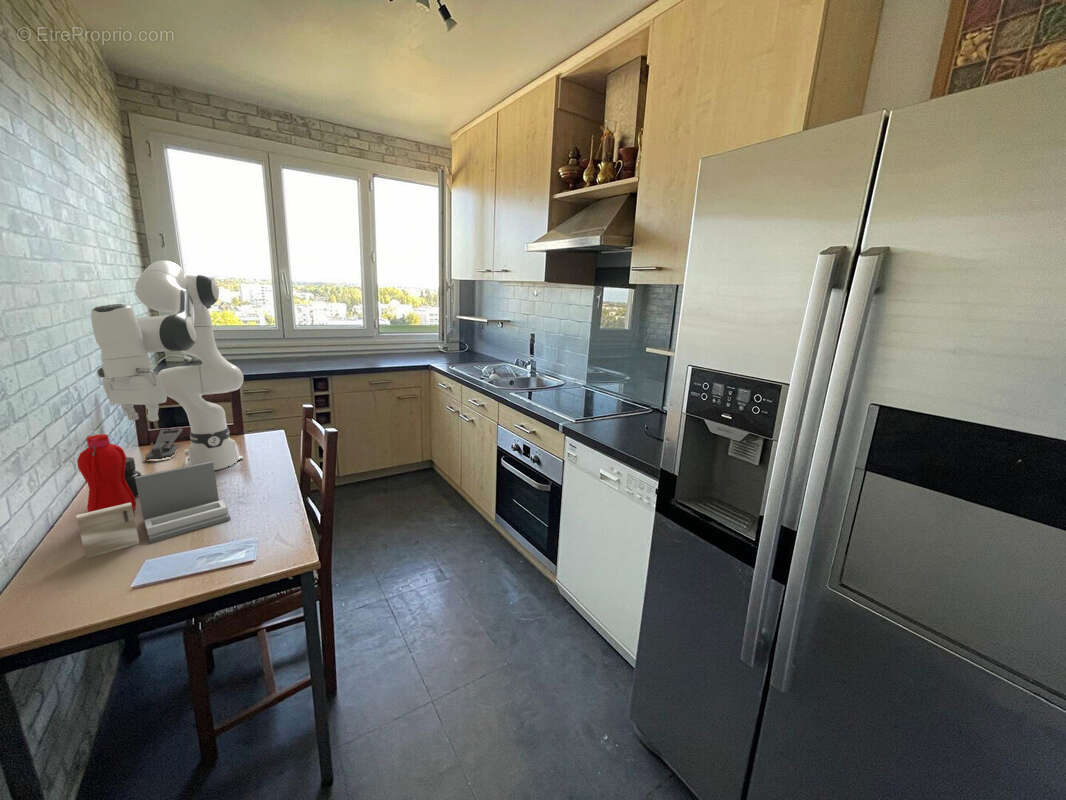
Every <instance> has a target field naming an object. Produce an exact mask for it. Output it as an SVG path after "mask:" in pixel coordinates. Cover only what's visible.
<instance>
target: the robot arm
mask: <svg viewBox="0 0 1066 800" xmlns="http://www.w3.org/2000/svg"><path fill="white" fill-rule="evenodd" d="M134 290H135V295H136V297H137V299H138V300H139V301H140V302H141V304H143V306H146V307H147V308H149V309H151V310H153V311H156V312H159V313H161V312H162V313H171V314H166V315H155V316H147V317H146V316H143V317H142V316H141V317H137V315H136V313H135V312H134V310H133V308H132V307H131V305H129V304H126V303H125V304H124V303H116V304H115V303H114V304H113V303H112V304H107V305H106V304H105V305H100V306H95V307H94V308H92V309H91V313H90V317H91V318H90V319H91V321H90V322H91V326H92V330H93V331H92V332H93V335H94V338H95V342H96V344H97V345H98V347H99V349H100V351H101V362H102V365H101V366H99V368H97V370H96V374H97V376H98V378H99V379H101V383H102V386H103V387H102V388H103V389H104V393H105V395H106V397H107V399H108V401H109V402H110V403H111V404H112V405H120V407H121V409H122V411H123V412H124V414H126V418H127V420H128V421H136V420H139V419H140V418H139V417H140V416H139V412H136V410H135V408H134V406H137V405H138V406H145V409H147V414H146V418H147V421H148V422H156V421H160V418H159V408H160V406H159V405H160V404H164V403H167V398H170V399H172V400H174V401H175V402H177V403H178V404H179V405H180V406H181V407H182V409H183V410H184V411H185V413H186V416H187V419H188V423H189V427H190V432H189V438H190V445H189V447H188V449H185V450H184V454H185V456H187V457H185V461H184V466H183V467H185V466H190V465H195V464H200V463H205V462H210V461H212V462H213V465H214V471H217V470H222V469H226V468H228V466H229V467H232V466H233V465H235V464H236V463H238V462H239V461H238V460H240V459H242V458H243V459H244V457H243V455H240V454H238V450H237V445H236V444H237V443H236V441H235V440H234V439H233V438H230V430H229V427H228V425H227V418H226V412H225V410H224V408H223V407H222V406H221V405H219V404H217V403H214V402H210V401H207V400H205V399H204V398H203V397H202V396H204V395H205V396H206V395H214V394H225V393H231V392H235V391H237V390H239V389H240V388H241V387H242V386H243V383H244V374H243V372H242V370H241V368H239V367H238V366H237V365H235V364H233V363H231V362H229V361H228V360H227V359H226V358H225V357H224V356H223V355H222V354H221V352H220V351H219V349H218V346H217V344H216V339H215V335H214V328H213V322H212V319H211V314H210V312H209V309H211V308H212V306H214V305H215V304H216V303H217V302H218V301H219V297H220V296H219V295H220V289H219V285H218V284H217V282H216V280H215V279H214V277H212V276H210V275H207V274H203V273H198V274H196V273H188V272H187V273H186V272H185V271H184V270H183V268H182V267H181V266H179V265H178V264H176V263H175V262H172V261H169V260H164V259H163V260H157V261H154V262H153V263H151V264H149V265H148V266H147V267H146V268H145V269H144V270H143V272H142V273H141V274H140V275H139V277H138V278H137V280H136V282H135V286H134ZM170 351H171V352H181V353H183V354H185V355H188V356H190V357H193V358H197V359H198V360H200V361H201V364H198V365H197V364H196V365H183V366H182V365H181V366H180V365H179V366H174V367H168V368H164V369H161V370H160V371H159V372H158V373H157V374H156V373H155V372H154V371H153V369H152V363H151V360H150V357H149V354H153V353H160V352H170ZM243 459H242V460H243ZM237 461H238V462H237ZM240 461H241V460H240ZM234 463H235V464H234Z"/></svg>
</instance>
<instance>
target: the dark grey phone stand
mask: <svg viewBox="0 0 1066 800" xmlns="http://www.w3.org/2000/svg"><path fill="white" fill-rule="evenodd" d="M175 428H176V427H175ZM175 428H169V429H170V430H164V429H160V431H159V433H158V437H156V441H155V443H154V445H153V447H152V449H151V450H150V451H149V452H148V453H146V454H145V460H146V459H147V460H149V459H162V458H166V457H171V456H172V455H174V454H175V451H176V449H177V450H178V445H177V444H174V443H175V442H176V440H177V439H178V437H179V436H180V435H181V433H183V431H184V429H182V428H183V427H180V428H179V427H177V428H178V429H175Z"/></svg>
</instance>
